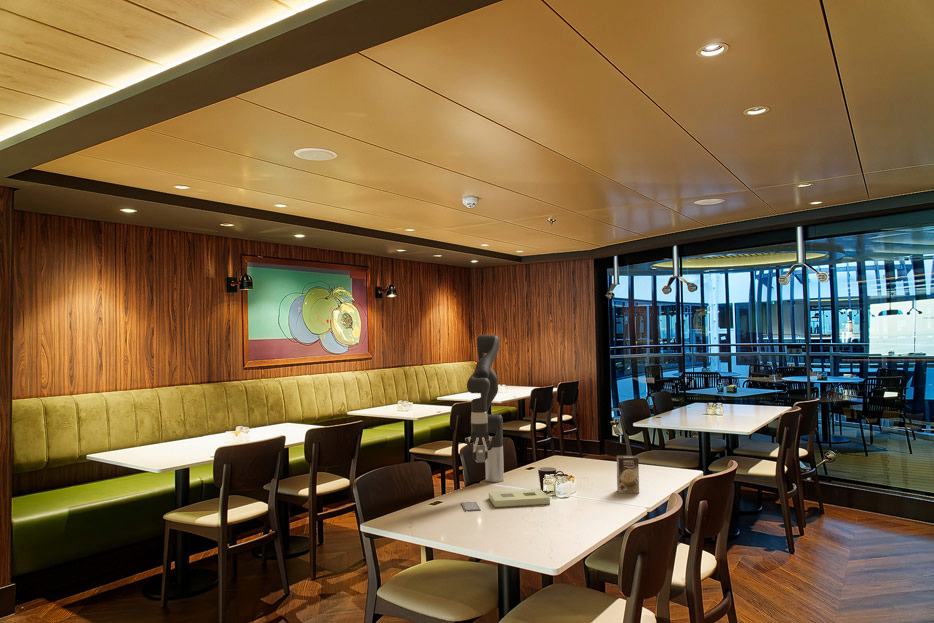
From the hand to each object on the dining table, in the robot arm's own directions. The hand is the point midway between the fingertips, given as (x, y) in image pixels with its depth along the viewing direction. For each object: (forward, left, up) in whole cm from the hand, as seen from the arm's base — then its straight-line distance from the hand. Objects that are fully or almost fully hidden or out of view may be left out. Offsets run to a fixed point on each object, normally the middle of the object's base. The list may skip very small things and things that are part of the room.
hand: (480, 459), depth 273 cm
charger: (0, 0, -1) cm, 1 cm away
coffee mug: (-6, +34, -17) cm, 39 cm away
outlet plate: (+10, +15, -17) cm, 25 cm away
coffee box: (+4, +68, -17) cm, 71 cm away
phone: (+14, -7, -18) cm, 23 cm away
